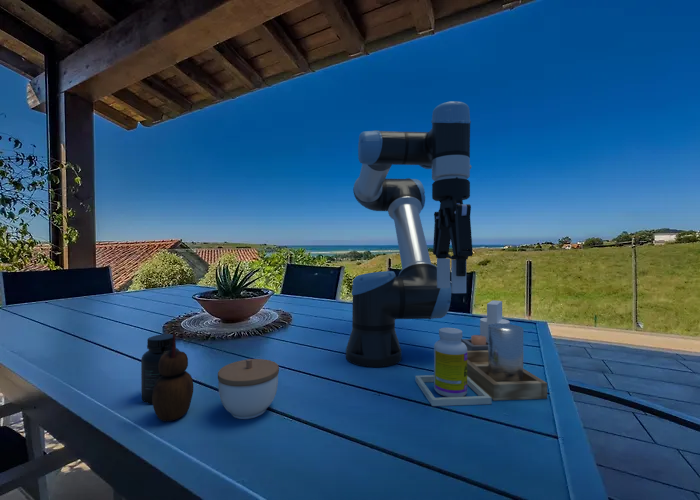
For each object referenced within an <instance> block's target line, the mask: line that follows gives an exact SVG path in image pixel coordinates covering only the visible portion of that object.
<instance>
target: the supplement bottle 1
mask: <svg viewBox="0 0 700 500" xmlns="http://www.w3.org/2000/svg"><path fill="white" fill-rule="evenodd" d="M172 341H173V333H172V334H171V333H170V334H169V333H168V334H167V333H165V334H156V335H152V336H150V337H148V338H147V341H146V342H147V344H146V349H147V351H145V352H144V353H143V354H142V356H141V361H140V366H141V368H140V371H141V373H140V376H141V377H140V378H141V379H140V380H141V382H140V384H141V388H140V390H141V391H140V393H141V395H140V396H141V400H142V402H143V403H144V404H145V403H146V404H151V405H153V403H152V394H153V389H154V386H155V383H156V382H157V380H158V379H159V377H161V376H162V375H161V374H160V373H159V368H158V365H159V360H160V358H161V356H162V355H164V354H166V353H169V352H172ZM176 351H180V350H179V348H177V347H176Z"/></svg>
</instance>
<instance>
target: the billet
mask: <svg viewBox="0 0 700 500" xmlns="http://www.w3.org/2000/svg"><path fill="white" fill-rule="evenodd" d="M523 369H524V328H523V326H519V325H516V324H511V323H510V324H502V323H495V324H489V325H488V376H490V377H491V378H492V379H493V380H495V381H496V382H513V381H523Z"/></svg>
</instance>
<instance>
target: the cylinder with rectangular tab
mask: <svg viewBox="0 0 700 500" xmlns="http://www.w3.org/2000/svg"><path fill="white" fill-rule="evenodd" d="M479 322H480V323H479V335H481V336H485V337H486V340H488V325H489V324H495V323H502V324H511V323H510V320H508V319H504V318H503V300H502V301H501V300H494V299H493V300H491V301H489V302H488V303H486V317H481V318H480V319H479Z"/></svg>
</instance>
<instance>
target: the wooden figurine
mask: <svg viewBox="0 0 700 500" xmlns="http://www.w3.org/2000/svg"><path fill="white" fill-rule="evenodd" d="M175 333H176V332H175V329H173V330H172V335H173V341H172V352H169V353H166V354H164V355H162V356H161V358H160V360H159V365H158V368H159V373H160V374H161V375H162V376H161V377H159V379H158V380H157V382H156V383H155V386H154V389H153V394H152V403H153V404H152V408H153V410H154V414H155V415H156V417H157V418H158V419H159V420H161V421H162V422H171V421H175V420H176V421H177V419H180V418H182V417H183V416H184V415H185V414H187V412H188V410H189V409H190V406H191V402H192V399H193V395H194V381H193V378H192V375H191V374H190V373H189V372H188V371H187V369H188V366H189V359H188V355H187V354H186V353H185V352H184V351H182V350H179V351H176V348H177V345H176V344H177V343H176V334H175Z"/></svg>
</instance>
